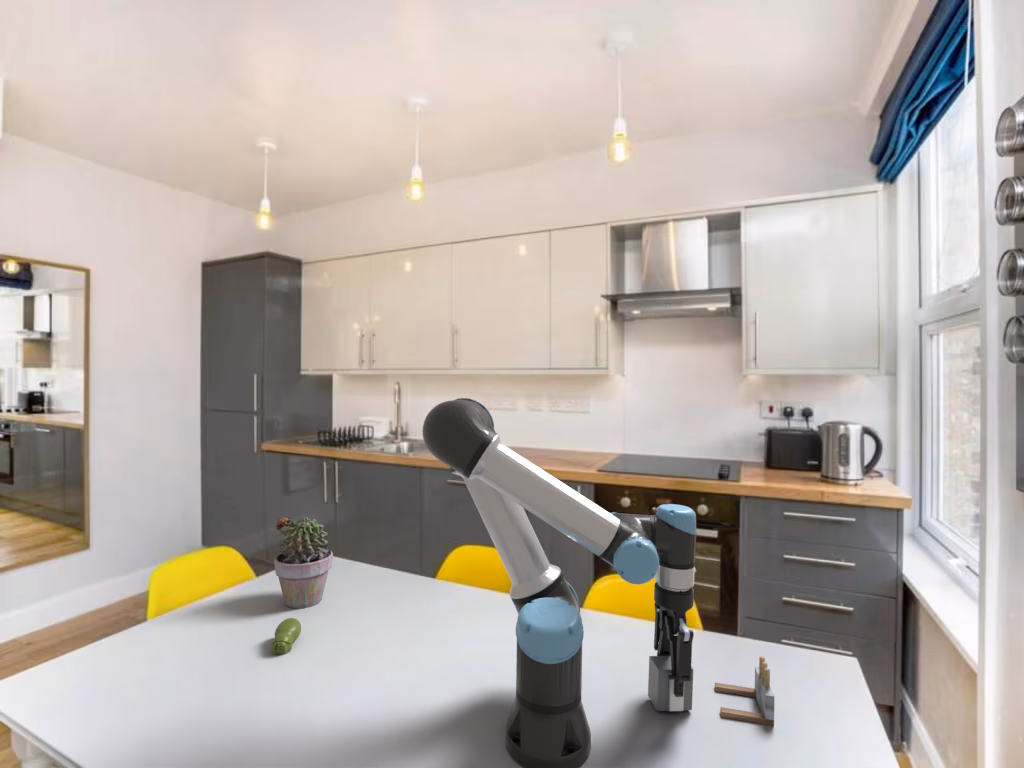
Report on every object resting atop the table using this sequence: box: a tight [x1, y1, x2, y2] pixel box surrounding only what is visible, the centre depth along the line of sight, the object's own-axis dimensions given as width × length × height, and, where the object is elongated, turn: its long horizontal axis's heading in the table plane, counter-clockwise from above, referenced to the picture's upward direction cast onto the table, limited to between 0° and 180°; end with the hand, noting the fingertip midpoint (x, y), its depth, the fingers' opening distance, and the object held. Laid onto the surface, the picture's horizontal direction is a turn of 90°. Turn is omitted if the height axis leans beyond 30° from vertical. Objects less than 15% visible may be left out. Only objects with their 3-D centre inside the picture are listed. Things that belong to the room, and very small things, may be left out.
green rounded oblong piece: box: [271, 617, 302, 655], centre depth 124 cm, size 6×5×10 cm
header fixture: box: [714, 655, 775, 726], centre depth 103 cm, size 10×9×9 cm
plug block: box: [647, 655, 694, 712], centre depth 103 cm, size 5×7×8 cm
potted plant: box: [273, 516, 337, 610], centre depth 149 cm, size 18×20×25 cm
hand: (669, 700), depth 103 cm, fingers closed on plug block, 5 cm apart
